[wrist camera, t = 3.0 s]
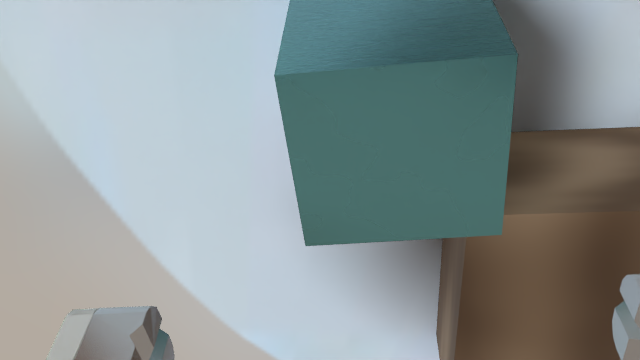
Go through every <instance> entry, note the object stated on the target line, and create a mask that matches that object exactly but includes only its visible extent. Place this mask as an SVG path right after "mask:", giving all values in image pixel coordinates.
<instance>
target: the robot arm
mask: <svg viewBox="0 0 640 360" xmlns="http://www.w3.org/2000/svg"><path fill="white" fill-rule="evenodd" d="M620 292H621V294H622V297H623V299H624V301H623V302H622V303H620V304H619V305H618V306H617V307H616V308H615V310H614V314H613V319H612V329H613V338H614V342H615V346H616V349H617V352H618V354H619V356H620V359H621V360H640V274H630V275H626V276H625V278H624V279H623V280H622V283H621V287H620ZM161 320H162V318H161V315H160V313H159V311H158V309H157V307H154V306H143V307H118V308H98V309H77V310H72V311H71V312H70V313H69V314H68V315H67V316H66V317H65V319H64V321H63V323H62V325H61V328H60V330H59V332H58V334H57V336H56V338H55V341H54V343H53V345H52V347H51V349H50V352H49V354H48V356H47V358H46V360H174V351H173V345H172V342H171V339H170V337H169V335H168V334H167V333H165V332H164V331H162V330H161V329H159V328H160V324H161Z"/></svg>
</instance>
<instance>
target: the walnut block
mask: <svg viewBox="0 0 640 360" xmlns="http://www.w3.org/2000/svg"><path fill="white" fill-rule="evenodd" d="M630 274H640V127H626V128H601V129H575V130H550V131H524V132H511V138H510V149H509V160H508V172H507V183H506V194H505V205H504V216H503V228H502V235H491V236H474V237H456V238H443V242H442V257H441V272H440V287H439V302H438V317H437V332H436V335H437V343H438V350H439V357H440V360H621V359H620V356H619V354H618V352H617V349H616V346H615V342H614V338H613V329H612V319H613V314H614V310H615V308H616V307H617V306H618V305H619V304H620V303H622V302H623V301H624V299H623V297H622V294H621V292H620V287H621V283H622V280H623V279H624V278H625V276H626V275H630Z"/></svg>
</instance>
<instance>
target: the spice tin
mask: <svg viewBox="0 0 640 360" xmlns="http://www.w3.org/2000/svg"><path fill="white" fill-rule="evenodd" d="M517 59H518V53H517V51H516V49H515V47H514V45H513V43H512V41H511V39H510V37H509V34H508V32H507V30H506V28H505V26H504V24H503V22H502V20H501V18H500V16H499V13H498V11H497V9H496V7H495V5H494V3H493V1H492V0H290V3H289V8H288V12H287V17H286V22H285V27H284V31H283V36H282V41H281V46H280V51H279V55H278V60H277V65H276V70H275V74H274V77H275V82H276V87H277V93H278V98H279V104H280V109H281V115H282V120H283V126H284V131H285V136H286V142H287V147H288V153H289V158H290V164H291V169H292V175H293V180H294V185H295V191H296V196H297V202H298V207H299V213H300V218H301V223H302V229H303V234H304V240H305V245H306V246H315V245H333V244H350V243H368V242H386V241H403V240H421V239H439V238H456V237H474V236H491V235H502V228H503V216H504V205H505V194H506V183H507V172H508V160H509V149H510V138H511V127H512V116H513V104H514V93H515V82H516V71H517Z"/></svg>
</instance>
